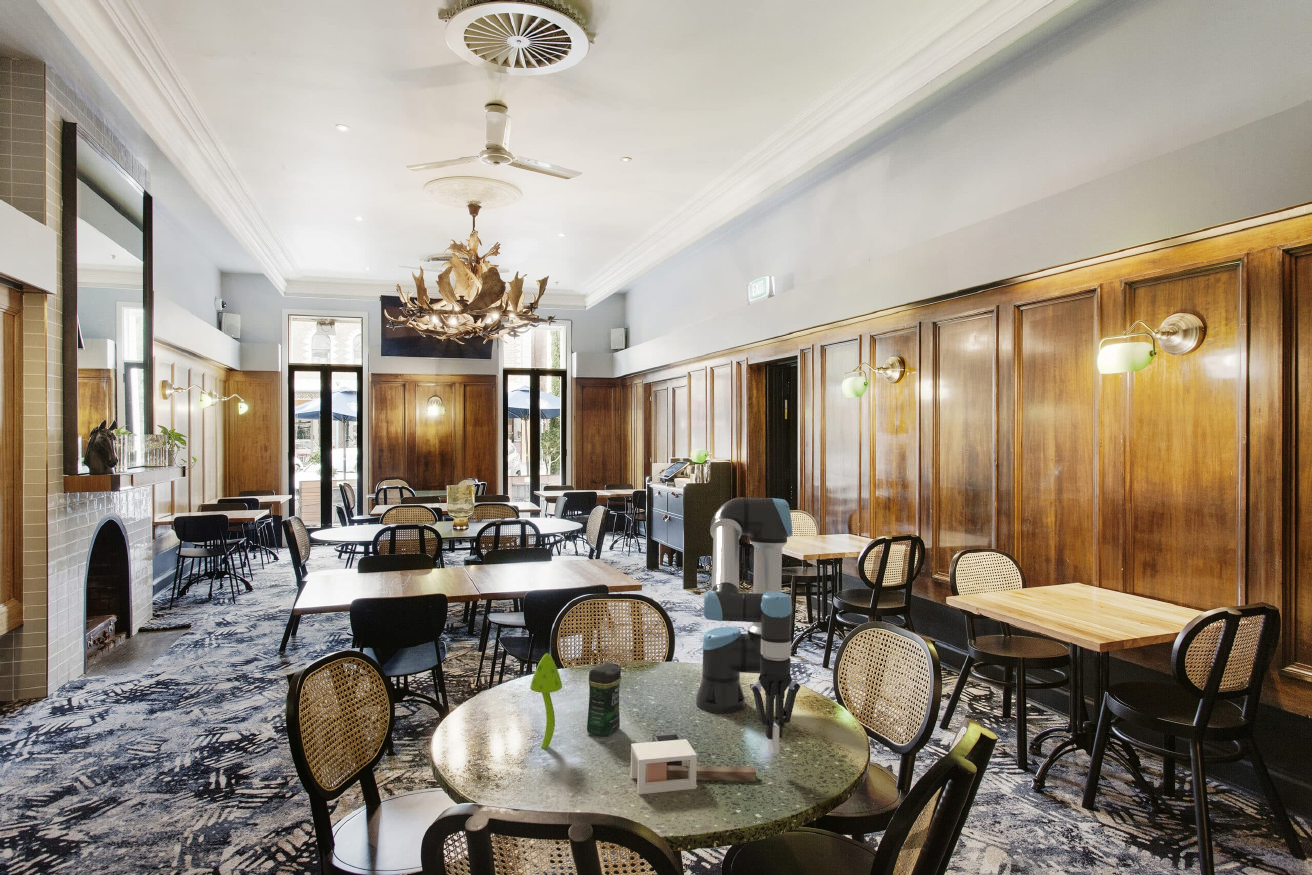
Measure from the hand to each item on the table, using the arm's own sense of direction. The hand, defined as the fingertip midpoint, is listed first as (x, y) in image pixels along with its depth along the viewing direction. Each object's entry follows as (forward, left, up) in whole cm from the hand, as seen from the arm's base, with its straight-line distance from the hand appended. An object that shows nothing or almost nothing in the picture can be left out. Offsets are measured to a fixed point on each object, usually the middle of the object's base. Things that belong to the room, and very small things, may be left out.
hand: (773, 751), depth 176 cm
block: (+30, 0, -5) cm, 31 cm away
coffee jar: (+37, -32, -6) cm, 50 cm away
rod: (+16, -1, -6) cm, 17 cm away
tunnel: (+28, -3, -5) cm, 29 cm away
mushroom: (+54, -25, -6) cm, 60 cm away
